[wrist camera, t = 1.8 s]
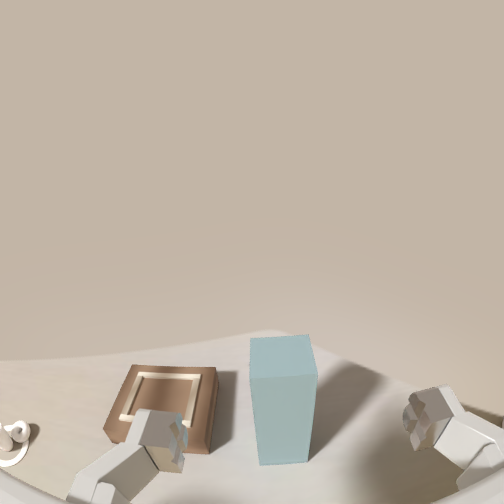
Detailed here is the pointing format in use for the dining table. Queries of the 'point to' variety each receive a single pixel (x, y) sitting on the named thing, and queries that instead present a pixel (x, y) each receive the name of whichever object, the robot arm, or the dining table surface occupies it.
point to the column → (283, 397)
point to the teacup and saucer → (19, 434)
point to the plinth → (168, 401)
